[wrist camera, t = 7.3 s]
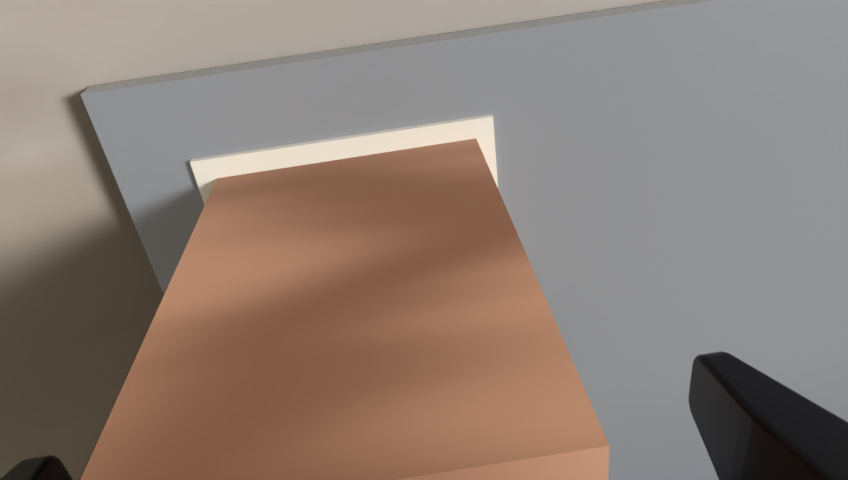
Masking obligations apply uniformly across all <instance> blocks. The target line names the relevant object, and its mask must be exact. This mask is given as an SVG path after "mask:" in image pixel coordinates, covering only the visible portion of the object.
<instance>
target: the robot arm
mask: <svg viewBox="0 0 848 480" xmlns="http://www.w3.org/2000/svg"><path fill="white" fill-rule="evenodd" d="M688 400H689V407H690V411H691V414H692V416H693V419H694V421H695V424H696V426H697V428H698V431H699V433H700V436H701V438H702V440H703V443H704V445H705V447H706V450H707V452H708V455H709V457H710V459H711V462H712V464H713V467H714V469H715V471H716V474H717V476H718V479H719V480H848V422H847V421H845V420H844V419H842V418H840V417H838V416H837V415H835V414H833V413H832V412H830V411H828V410H826V409H825V408H823V407H821V406H819V405H818V404H816V403H814V402H813V401H811V400H809V399H807V398H806V397H804V396H802V395H800V394H799V393H797V392H795V391H794V390H792V389H790V388H788V387H787V386H785V385H783V384H781V383H780V382H778V381H776V380H775V379H773V378H771V377H769V376H768V375H766V374H764V373H763V372H761V371H759V370H757V369H756V368H754V367H752V366H750V365H749V364H747V363H745V362H744V361H742V360H740V359H738V358H737V357H735V356H733V355H731V354H729V353H727V352H722V351H720V352H713V353H707V354H700V355H698V356H696V357H695V359H694V360H693V364H692V372H691V380H690V388H689V397H688ZM0 480H73V479H72V478H71V476H70V474H69V473H68V471H67V470H66V468H65V466H64V465H63V463H62V462H61V460H60V459H59V458H57V457H56V456H51V455H49V456H42V457H36V458H29V459H26V460H23V461H21V462H20V463H19V464H17V465H16V466H15V467H14V468H13V469H11V470H10V471H9V472H8V473H7V474H6V475H4V476H3V477H2V478H1V479H0Z"/></svg>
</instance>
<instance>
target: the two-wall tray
mask: <svg viewBox="0 0 848 480" xmlns="http://www.w3.org/2000/svg"><path fill="white" fill-rule="evenodd" d="M80 95H81V97H82V100H83V102H84V105H85V107H86V109H87V112H88V114H89V117H90V119H91V121H92V124H93V126H94V129H95V131H96V134H97V136H98V138H99V141H100V143H101V146H102V148H103V150H104V153H105V155H106V158H107V160H108V162H109V165H110V167H111V170H112V172H113V175H114V177H115V179H116V182H117V184H118V187H119V189H120V191H121V194H122V196H123V199H124V201H125V203H126V206H127V208H128V211H129V213H130V216H131V218H132V220H133V223H134V225H135V228H136V230H137V232H138V235H139V237H140V240H141V242H142V244H143V247H144V249H145V252H146V254H147V257H148V259H149V261H150V264H151V266H152V269H153V271H154V273H155V276H156V278H157V281H158V283H159V285H160V288H161V290H162V293H163V295H164V294H165V292H166V290H167V288H168V285H169V283H170V281H171V279H172V277H173V274H174V272H175V270H176V268H177V266H178V263H179V261H180V259H181V257H182V255H183V252H184V250H185V248H186V246H187V243H188V241H189V239H190V237H191V235H192V232H193V230H194V228H195V226H196V224H197V221H198V219H199V217H200V215H201V213H202V210H203V208H204V206H205V204H206V202H207V199H208V197H209V195H210V193H211V191H212V188H213V186H214V184H215V182H216V180H217V178H223V177H229V176H236V175H242V174H248V173H255V172H261V171H268V170H274V169H281V168H287V167H294V166H300V165H307V164H313V163H320V162H326V161H333V160H339V159H345V158H352V157H358V156H365V155H371V154H378V153H384V152H391V151H397V150H404V149H410V148H417V147H423V146H430V145H436V144H443V143H449V142H455V141H462V140H468V139H475V138H476V139H477V141H478V144H479V146H480V148H481V151H482V153H483V155H484V157H485V160H486V162H487V164H488V167H489V169H490V171H491V174H492V176H493V178H494V181H495V183H496V185H497V187H498V190H499V192H500V194H501V197H502V199H503V201H504V204H505V206H506V208H507V211H508V213H509V215H510V217H511V220H512V222H513V224H514V227H515V229H516V231H517V234H518V236H519V238H520V241H521V243H522V245H523V248H524V250H525V252H526V254H527V257H528V259H529V261H530V264H531V266H532V268H533V271H534V273H535V275H536V278H537V280H538V282H539V284H540V287H541V289H542V291H543V294H544V296H545V298H546V301H547V303H548V305H549V308H550V310H551V312H552V314H553V317H554V319H555V321H556V324H557V326H558V328H559V331H560V333H561V335H562V338H563V340H564V342H565V344H566V347H567V349H568V351H569V354H570V356H571V358H572V361H573V363H574V365H575V368H576V370H577V372H578V374H579V377H580V379H581V381H582V384H583V386H584V388H585V391H586V393H587V395H588V398H589V400H590V402H591V404H592V407H593V409H594V411H595V414H596V416H597V418H598V421H599V423H600V425H601V428H602V430H603V432H604V434H605V437H606V439H607V441H608V444H609V471H608V480H719V479H718V476H717V474H716V471H715V469H714V467H713V464H712V462H711V459H710V457H709V455H708V452H707V450H706V447H705V445H704V443H703V440H702V438H701V436H700V433H699V431H698V428H697V426H696V424H695V421H694V419H693V416H692V414H691V411H690V407H689V400H688V397H689V388H690V380H691V372H692V364H693V360H694V359H695V357H696V356H698V355H700V354H707V353H713V352H720V351H722V352H727V353H729V354H731V355H733V356H735V357H737V358H738V359H740V360H742V361H744V362H745V363H747V364H749V365H750V366H752V367H754V368H756V369H757V370H759V371H761V372H763V373H764V374H766V375H768V376H769V377H771V378H773V379H775V380H776V381H778V382H780V383H781V384H783V385H785V386H787V387H788V388H790V389H792V390H794V391H795V392H797V393H799V394H800V395H802V396H804V397H806V398H807V399H809V400H811V401H813V402H814V403H816V404H818V405H819V406H821V407H823V408H825V409H826V410H828V411H830V412H832V413H833V414H835V415H837V416H838V417H840V418H842V419H844V420H845V421H847V422H848V0H666V1H659V2H653V3H646V4H639V5H632V6H626V7H619V8H612V9H605V10H599V11H592V12H585V13H579V14H572V15H565V16H558V17H552V18H545V19H538V20H531V21H525V22H518V23H511V24H504V25H498V26H491V27H484V28H477V29H471V30H464V31H457V32H450V33H444V34H437V35H430V36H424V37H417V38H410V39H403V40H397V41H390V42H383V43H376V44H370V45H363V46H356V47H349V48H343V49H336V50H329V51H322V52H316V53H309V54H302V55H295V56H289V57H282V58H275V59H269V60H262V61H255V62H248V63H242V64H235V65H228V66H221V67H215V68H208V69H201V70H194V71H188V72H181V73H174V74H167V75H161V76H154V77H147V78H140V79H134V80H127V81H120V82H114V83H107V84H100V85H93V86H90V87H89V88H87V89H86V90H85V91H84V92H82V93H81V94H80Z"/></svg>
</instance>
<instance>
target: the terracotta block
mask: <svg viewBox="0 0 848 480" xmlns="http://www.w3.org/2000/svg"><path fill="white" fill-rule="evenodd" d="M608 471H609V444H608V441H607V439H606V437H605V434H604V432H603V430H602V428H601V425H600V423H599V421H598V418H597V416H596V414H595V411H594V409H593V407H592V404H591V402H590V400H589V398H588V395H587V393H586V391H585V388H584V386H583V384H582V381H581V379H580V377H579V374H578V372H577V370H576V368H575V365H574V363H573V361H572V358H571V356H570V354H569V351H568V349H567V347H566V344H565V342H564V340H563V338H562V335H561V333H560V331H559V328H558V326H557V324H556V321H555V319H554V317H553V314H552V312H551V310H550V308H549V305H548V303H547V301H546V298H545V296H544V294H543V291H542V289H541V287H540V284H539V282H538V280H537V278H536V275H535V273H534V271H533V268H532V266H531V264H530V261H529V259H528V257H527V254H526V252H525V250H524V248H523V245H522V243H521V241H520V238H519V236H518V234H517V231H516V229H515V227H514V224H513V222H512V220H511V217H510V215H509V213H508V211H507V208H506V206H505V204H504V201H503V199H502V197H501V194H500V192H499V190H498V187H497V185H496V183H495V181H494V178H493V176H492V174H491V171H490V169H489V167H488V164H487V162H486V160H485V157H484V155H483V153H482V151H481V148H480V146H479V144H478V141H477V139H476V138H475V139H468V140H462V141H455V142H449V143H443V144H436V145H430V146H423V147H417V148H410V149H404V150H397V151H391V152H384V153H378V154H371V155H365V156H358V157H352V158H345V159H339V160H333V161H326V162H320V163H313V164H307V165H300V166H294V167H287V168H281V169H274V170H268V171H261V172H255V173H248V174H242V175H236V176H229V177H223V178H217V180H216V182H215V184H214V186H213V188H212V191H211V193H210V195H209V197H208V199H207V202H206V204H205V206H204V208H203V210H202V213H201V215H200V217H199V219H198V221H197V224H196V226H195V228H194V230H193V232H192V235H191V237H190V239H189V241H188V243H187V246H186V248H185V250H184V252H183V255H182V257H181V259H180V261H179V263H178V266H177V268H176V270H175V272H174V274H173V277H172V279H171V281H170V283H169V285H168V288H167V290H166V292H165V294H164V296H163V299H162V301H161V303H160V305H159V307H158V310H157V312H156V314H155V316H154V318H153V321H152V323H151V325H150V327H149V329H148V332H147V334H146V336H145V338H144V341H143V343H142V345H141V347H140V349H139V352H138V354H137V356H136V358H135V360H134V363H133V365H132V367H131V369H130V371H129V374H128V376H127V378H126V380H125V382H124V385H123V387H122V389H121V391H120V393H119V396H118V398H117V400H116V402H115V404H114V407H113V409H112V411H111V413H110V416H109V418H108V420H107V422H106V424H105V427H104V429H103V431H102V433H101V435H100V438H99V440H98V442H97V444H96V446H95V449H94V451H93V453H92V455H91V457H90V460H89V462H88V464H87V466H86V468H85V471H84V473H83V475H82V477H81V479H80V480H608Z"/></svg>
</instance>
